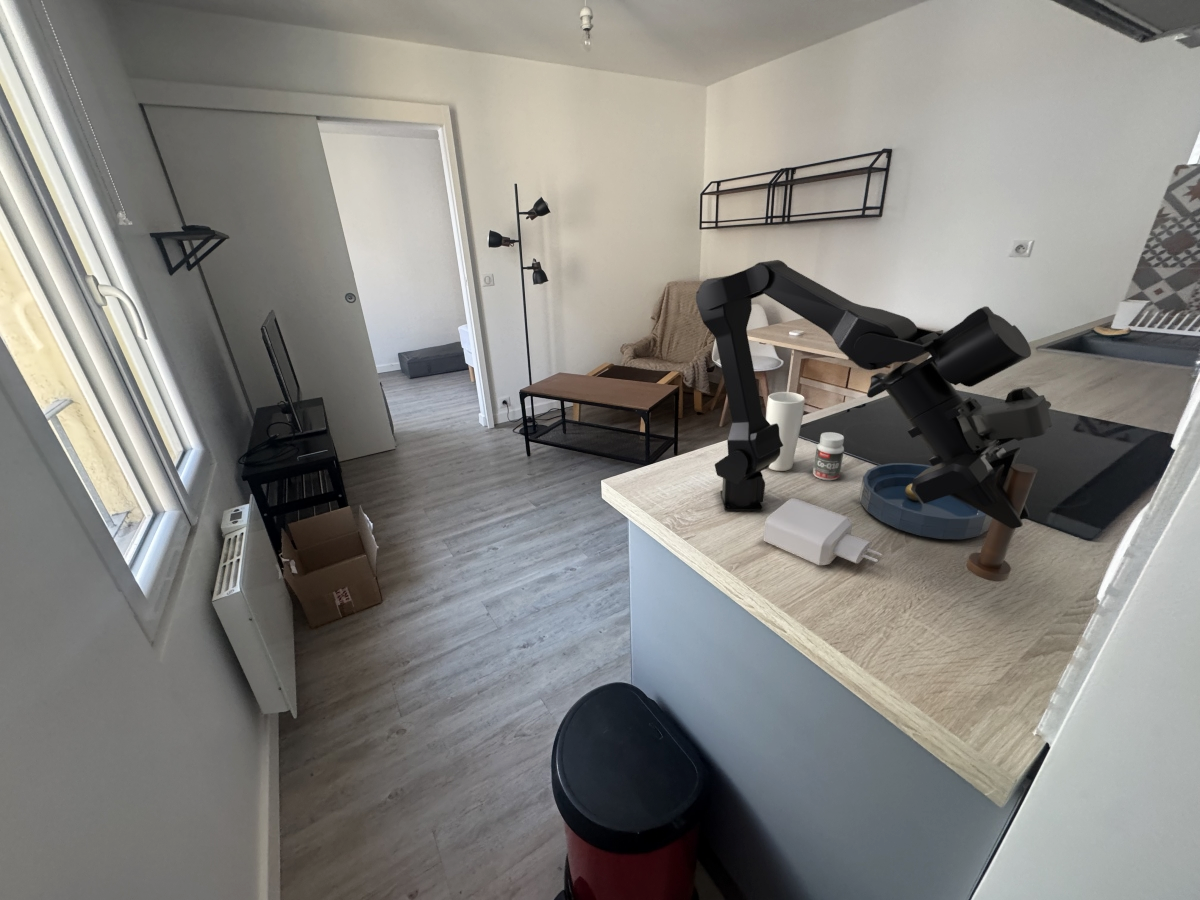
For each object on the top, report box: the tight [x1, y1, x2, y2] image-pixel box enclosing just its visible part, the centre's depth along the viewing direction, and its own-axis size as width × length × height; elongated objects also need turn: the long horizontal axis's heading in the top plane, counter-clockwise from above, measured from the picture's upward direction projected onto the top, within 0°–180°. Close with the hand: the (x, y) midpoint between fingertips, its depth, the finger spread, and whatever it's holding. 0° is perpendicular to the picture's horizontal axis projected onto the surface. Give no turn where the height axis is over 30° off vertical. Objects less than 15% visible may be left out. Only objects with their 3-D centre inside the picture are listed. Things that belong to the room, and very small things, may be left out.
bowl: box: [859, 462, 992, 540], centre depth 78 cm, size 18×18×4 cm
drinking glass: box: [765, 391, 806, 472], centre depth 93 cm, size 7×7×15 cm
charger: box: [763, 497, 884, 566], centre depth 70 cm, size 5×9×15 cm
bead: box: [905, 484, 918, 501], centre depth 80 cm, size 3×3×3 cm
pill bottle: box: [812, 431, 845, 481], centre depth 90 cm, size 5×5×8 cm
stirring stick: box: [966, 463, 1038, 583], centre depth 54 cm, size 4×4×14 cm
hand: (1021, 522), depth 52 cm, fingers closed on stirring stick, 2 cm apart
